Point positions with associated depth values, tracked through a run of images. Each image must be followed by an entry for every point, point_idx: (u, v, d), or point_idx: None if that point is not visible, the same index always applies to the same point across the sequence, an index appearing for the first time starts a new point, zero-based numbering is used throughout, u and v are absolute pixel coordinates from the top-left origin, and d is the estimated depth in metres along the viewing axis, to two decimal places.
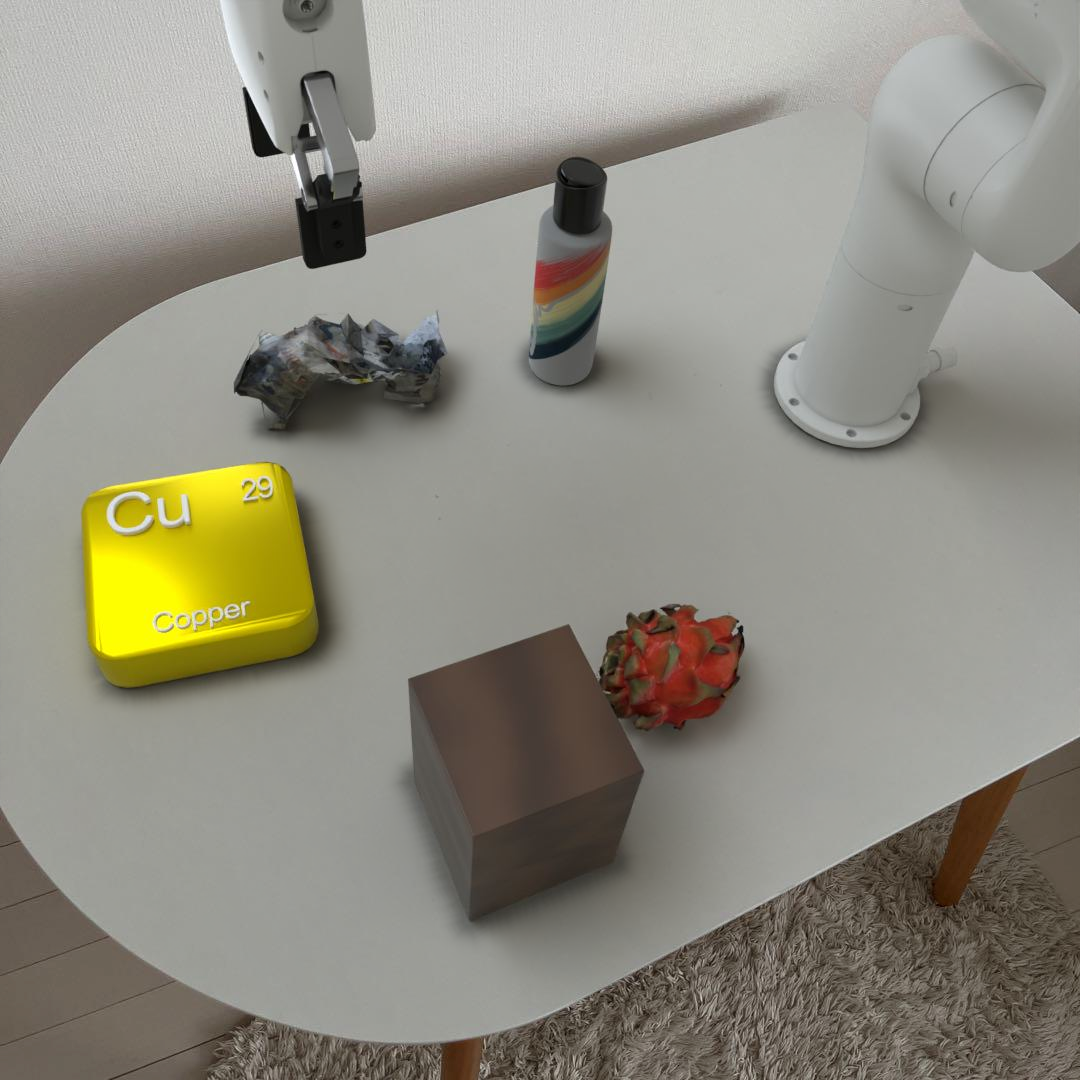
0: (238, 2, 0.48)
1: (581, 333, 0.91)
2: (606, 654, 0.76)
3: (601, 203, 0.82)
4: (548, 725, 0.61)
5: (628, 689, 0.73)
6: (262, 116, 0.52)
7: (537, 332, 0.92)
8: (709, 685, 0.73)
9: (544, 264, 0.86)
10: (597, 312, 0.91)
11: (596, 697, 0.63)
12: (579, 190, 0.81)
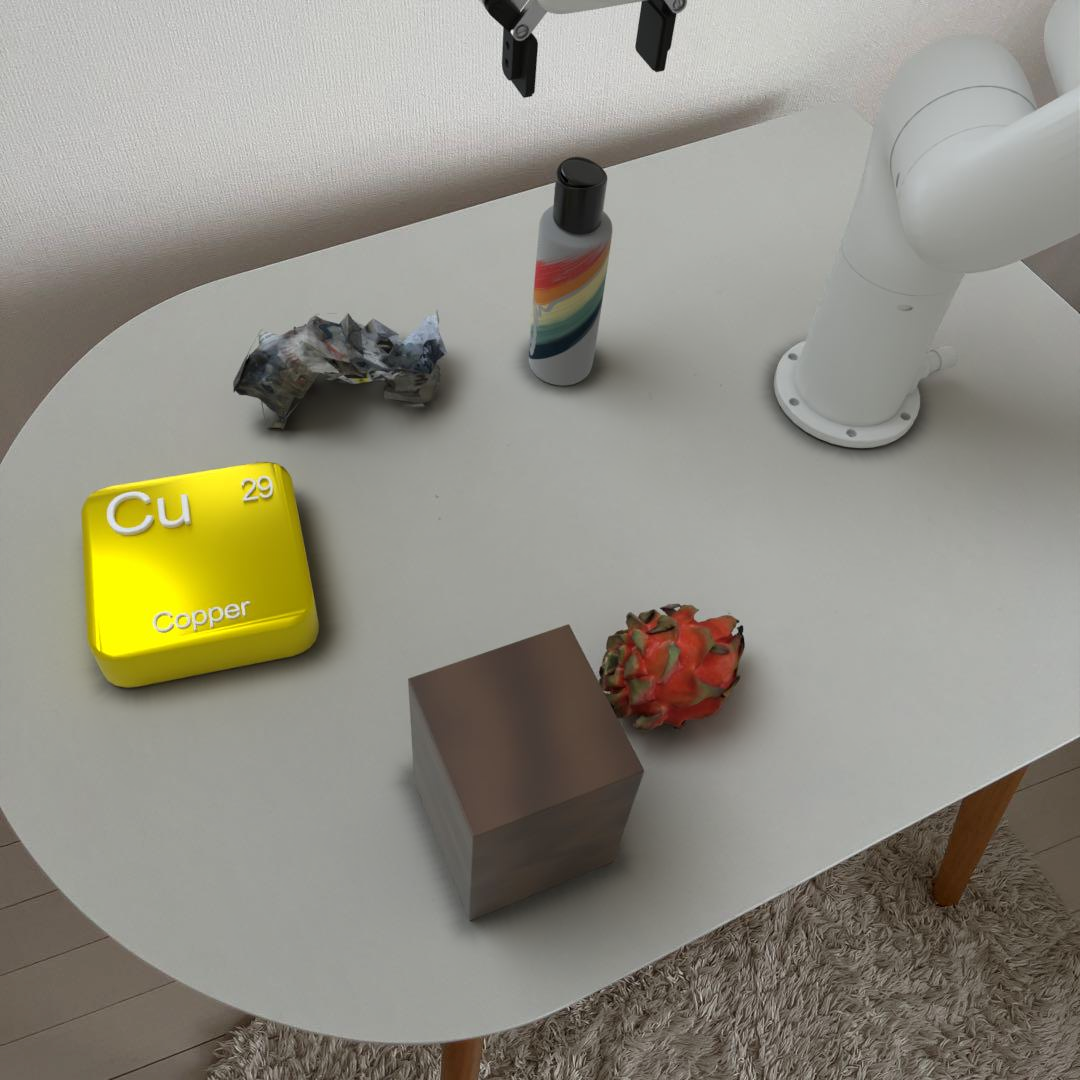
0: None
1: (581, 333, 0.91)
2: (606, 654, 0.76)
3: (601, 203, 0.82)
4: (548, 725, 0.61)
5: (628, 689, 0.73)
6: None
7: (537, 332, 0.92)
8: (709, 685, 0.73)
9: (544, 264, 0.86)
10: (597, 312, 0.91)
11: (596, 697, 0.63)
12: (579, 190, 0.81)
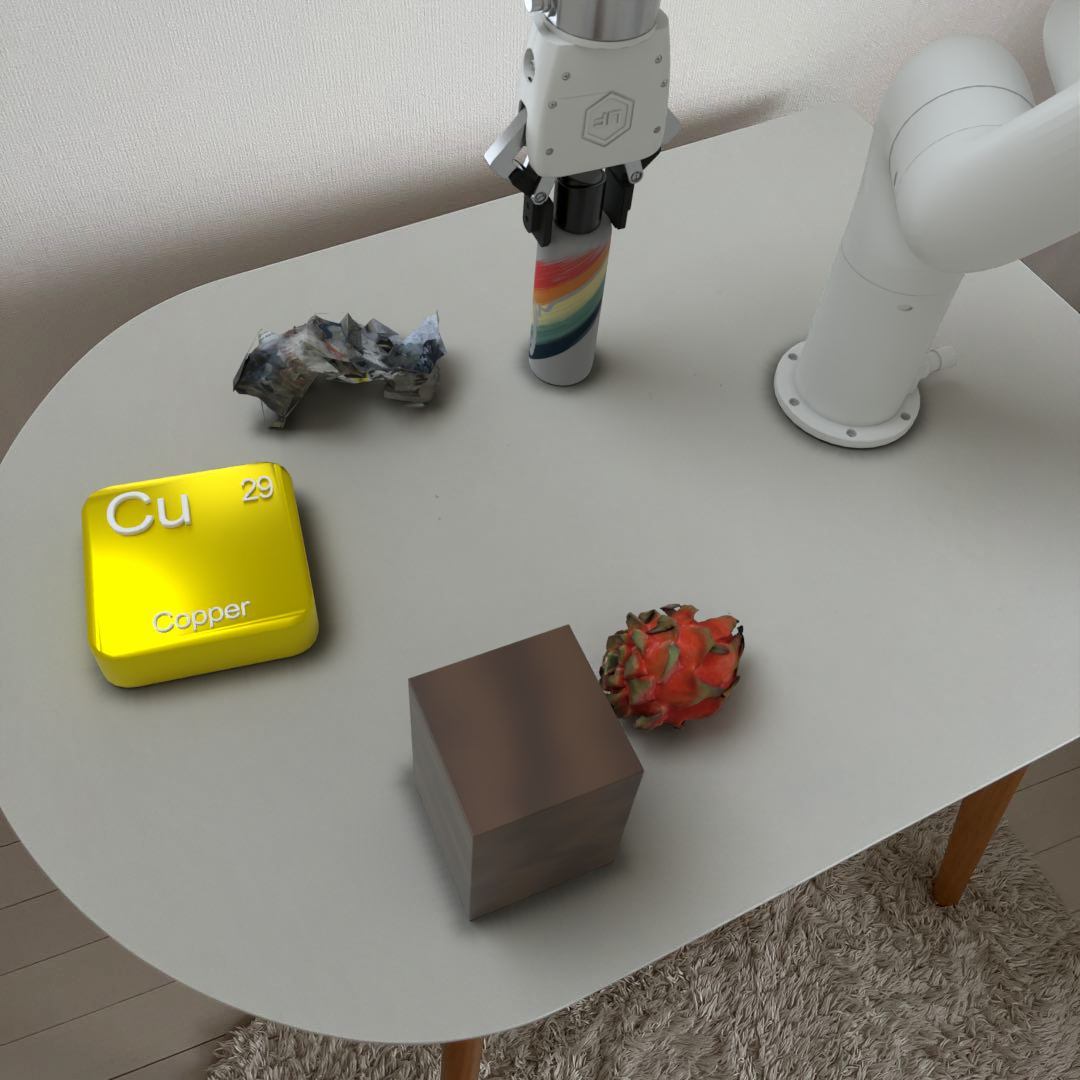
0: None
1: (581, 333, 0.91)
2: (606, 654, 0.76)
3: (601, 203, 0.82)
4: (548, 725, 0.61)
5: (628, 689, 0.73)
6: None
7: (537, 332, 0.92)
8: (709, 685, 0.73)
9: (544, 264, 0.86)
10: (597, 312, 0.91)
11: (596, 697, 0.63)
12: (579, 191, 0.81)
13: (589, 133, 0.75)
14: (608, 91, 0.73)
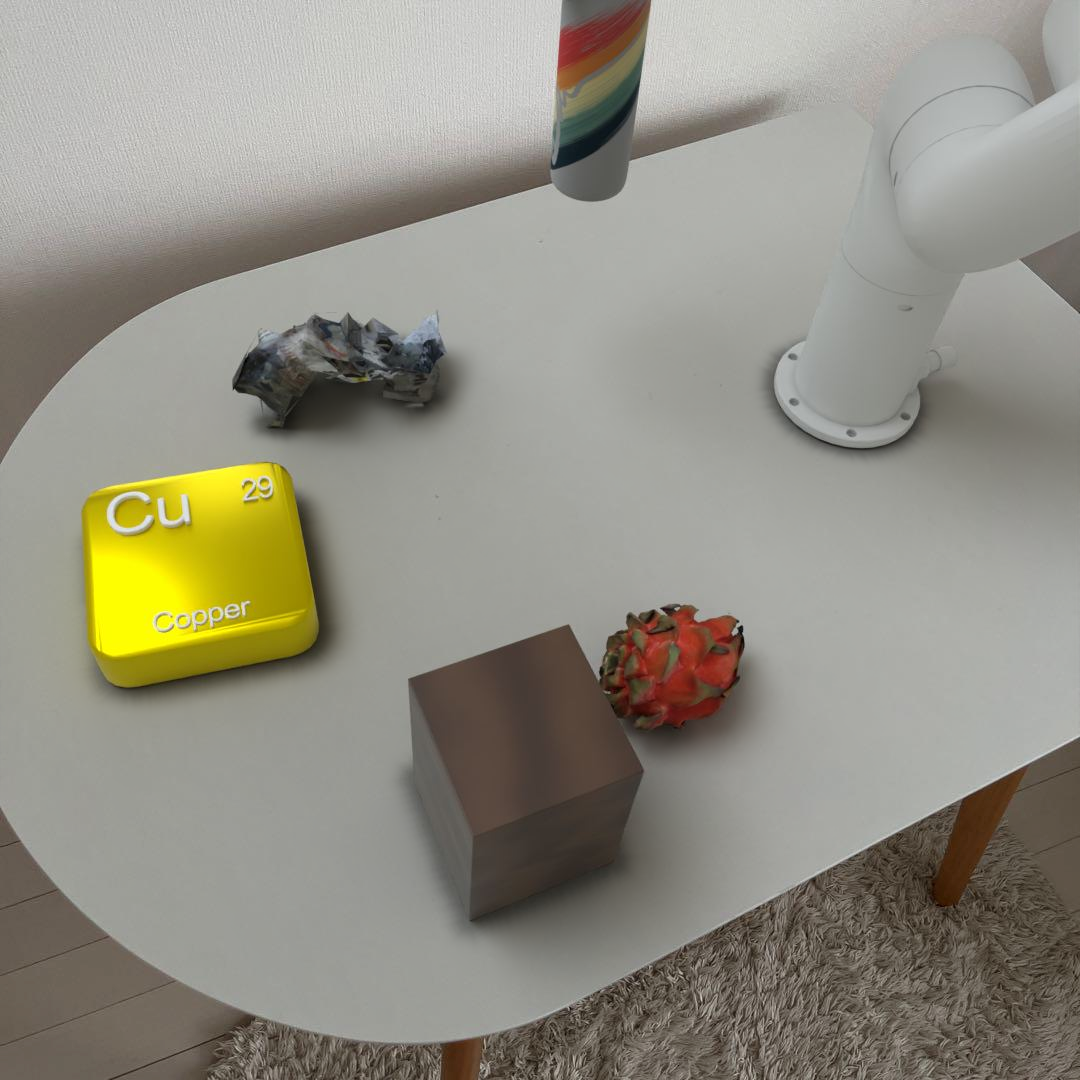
0: None
1: (614, 127, 0.76)
2: (606, 654, 0.76)
3: None
4: (548, 725, 0.61)
5: (628, 689, 0.73)
6: None
7: (561, 130, 0.77)
8: (709, 685, 0.73)
9: (570, 30, 0.71)
10: (633, 100, 0.75)
11: (596, 697, 0.63)
12: None
13: None
14: None
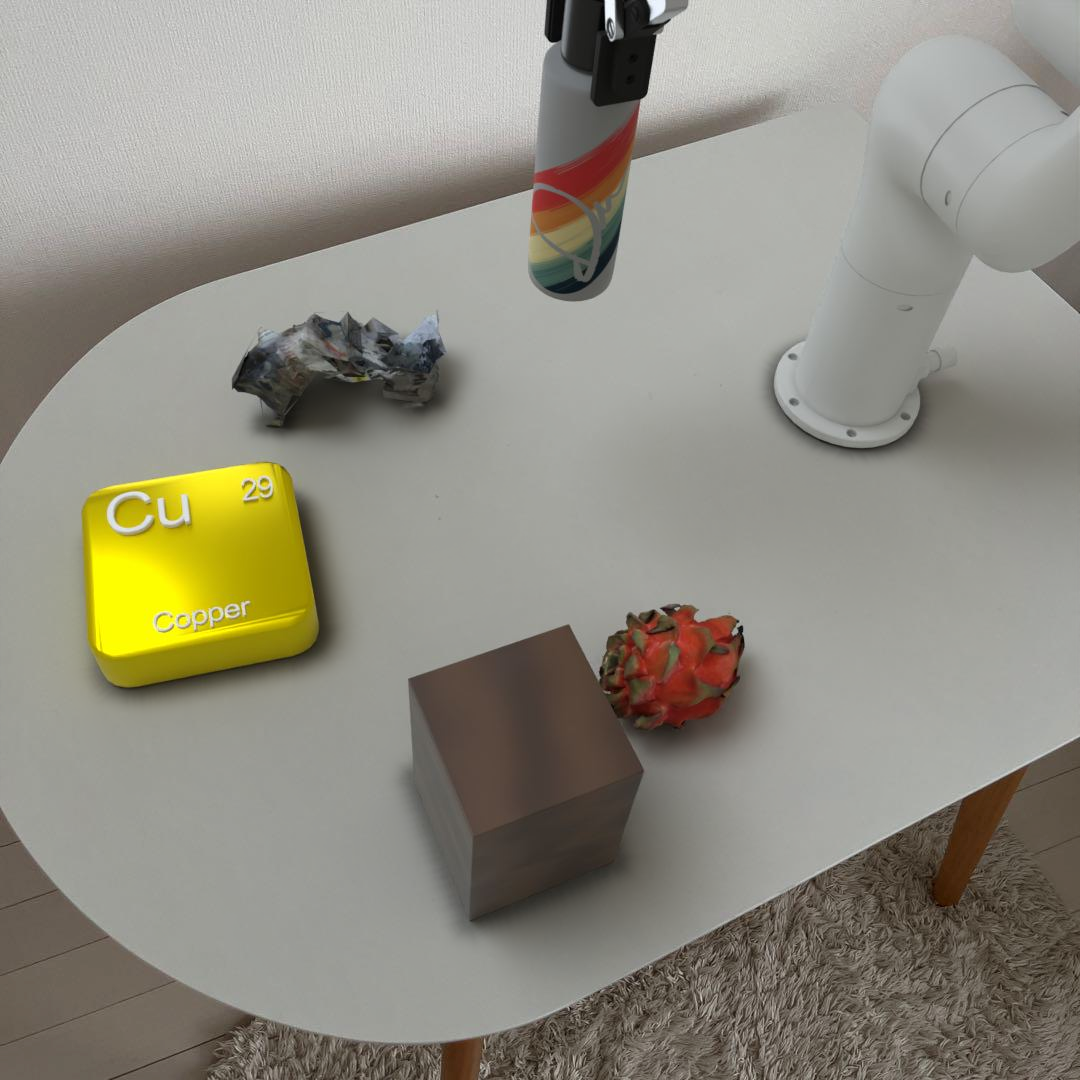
0: None
1: None
2: (606, 654, 0.76)
3: None
4: (548, 725, 0.61)
5: (628, 689, 0.73)
6: None
7: (603, 237, 0.68)
8: (709, 685, 0.73)
9: (619, 132, 0.62)
10: None
11: (596, 697, 0.63)
12: None
13: None
14: None
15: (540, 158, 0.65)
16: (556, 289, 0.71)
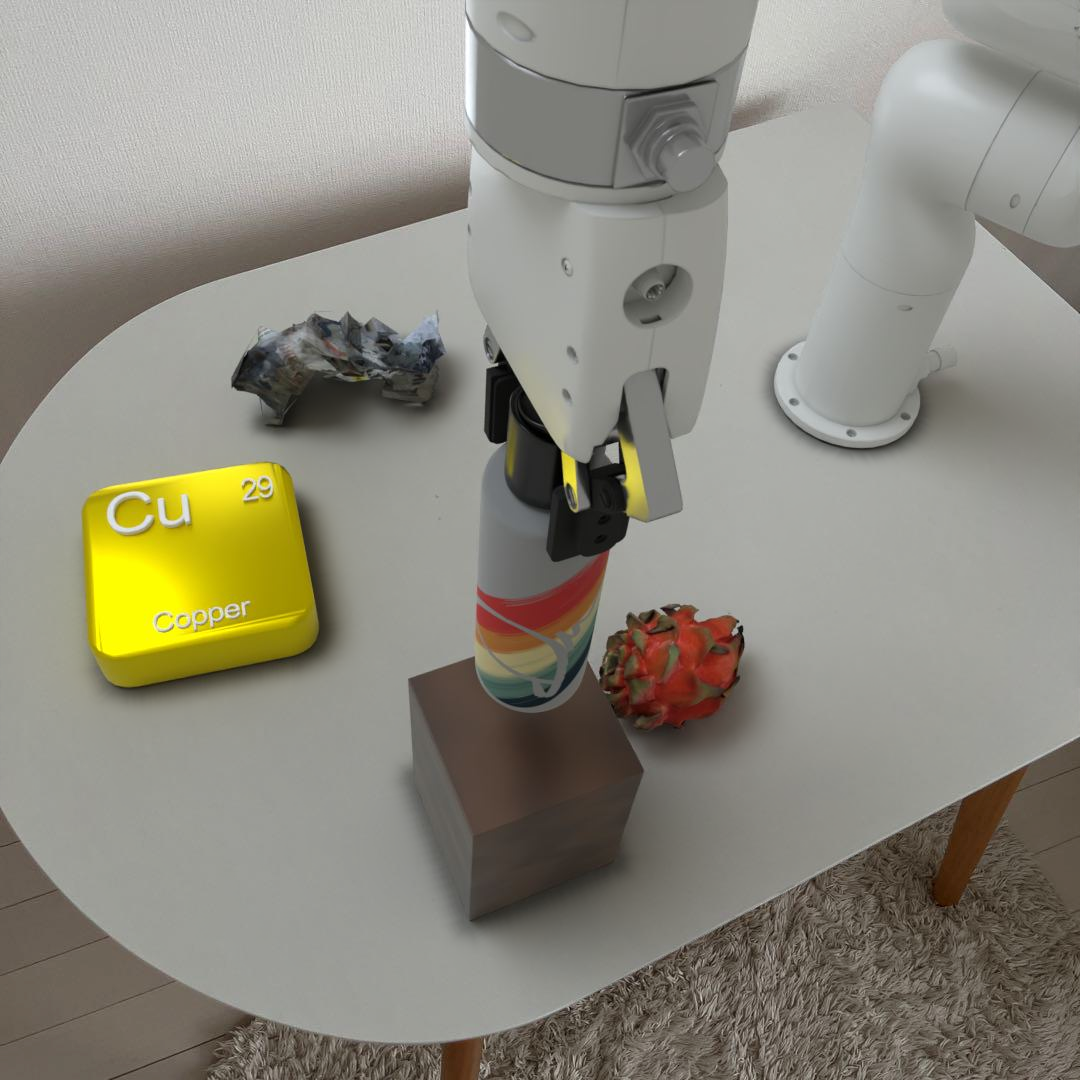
0: (542, 276, 0.32)
1: None
2: (606, 654, 0.76)
3: None
4: (548, 725, 0.61)
5: (628, 689, 0.73)
6: (539, 404, 0.37)
7: (570, 657, 0.52)
8: (709, 685, 0.73)
9: (587, 567, 0.46)
10: None
11: (596, 697, 0.63)
12: None
13: None
14: None
15: (483, 580, 0.48)
16: (511, 702, 0.55)
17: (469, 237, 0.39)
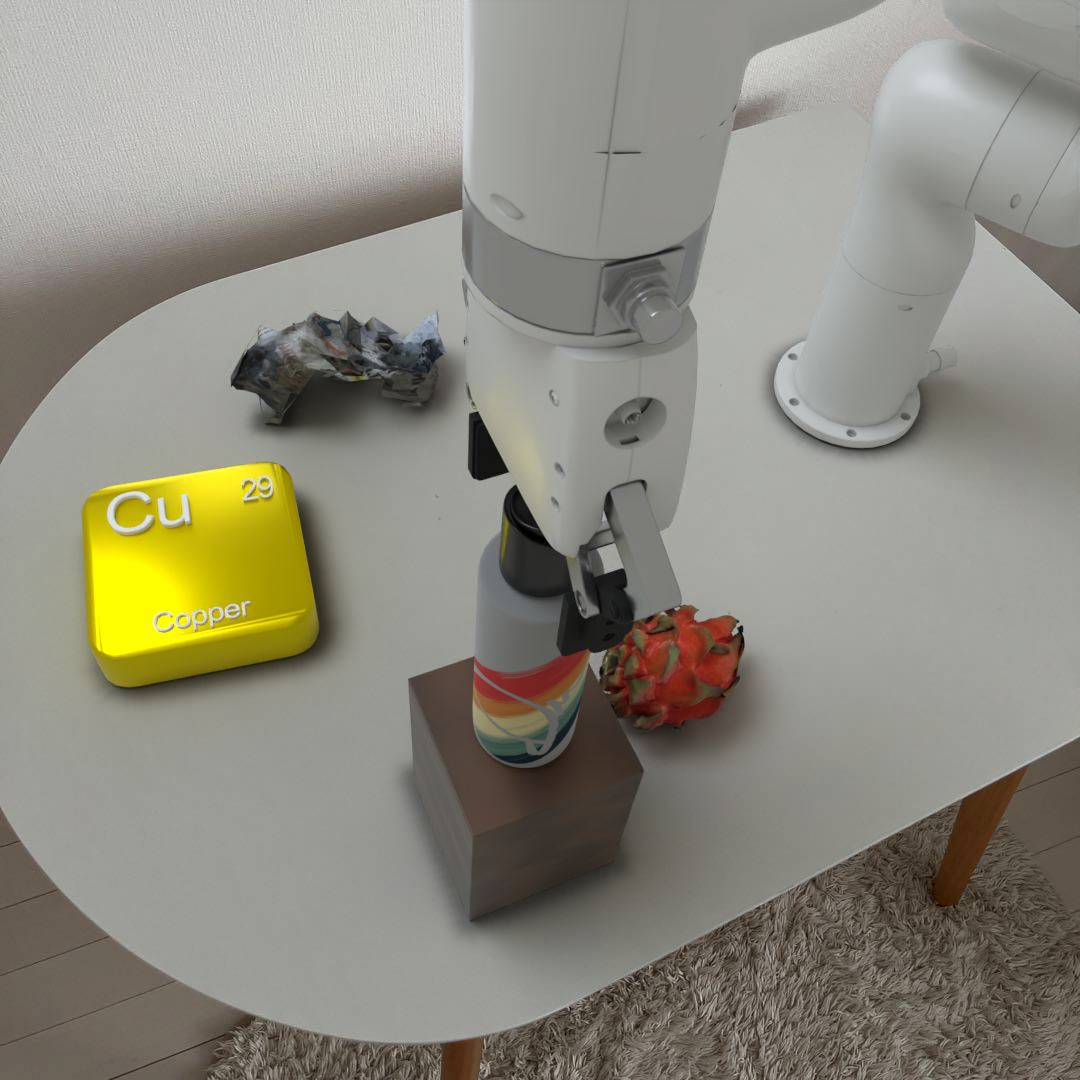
0: (532, 401, 0.36)
1: None
2: (606, 654, 0.76)
3: None
4: None
5: (628, 689, 0.73)
6: (531, 503, 0.41)
7: (560, 720, 0.56)
8: (709, 685, 0.73)
9: None
10: None
11: (596, 697, 0.63)
12: None
13: None
14: None
15: (480, 653, 0.53)
16: (506, 759, 0.59)
17: (467, 346, 0.42)
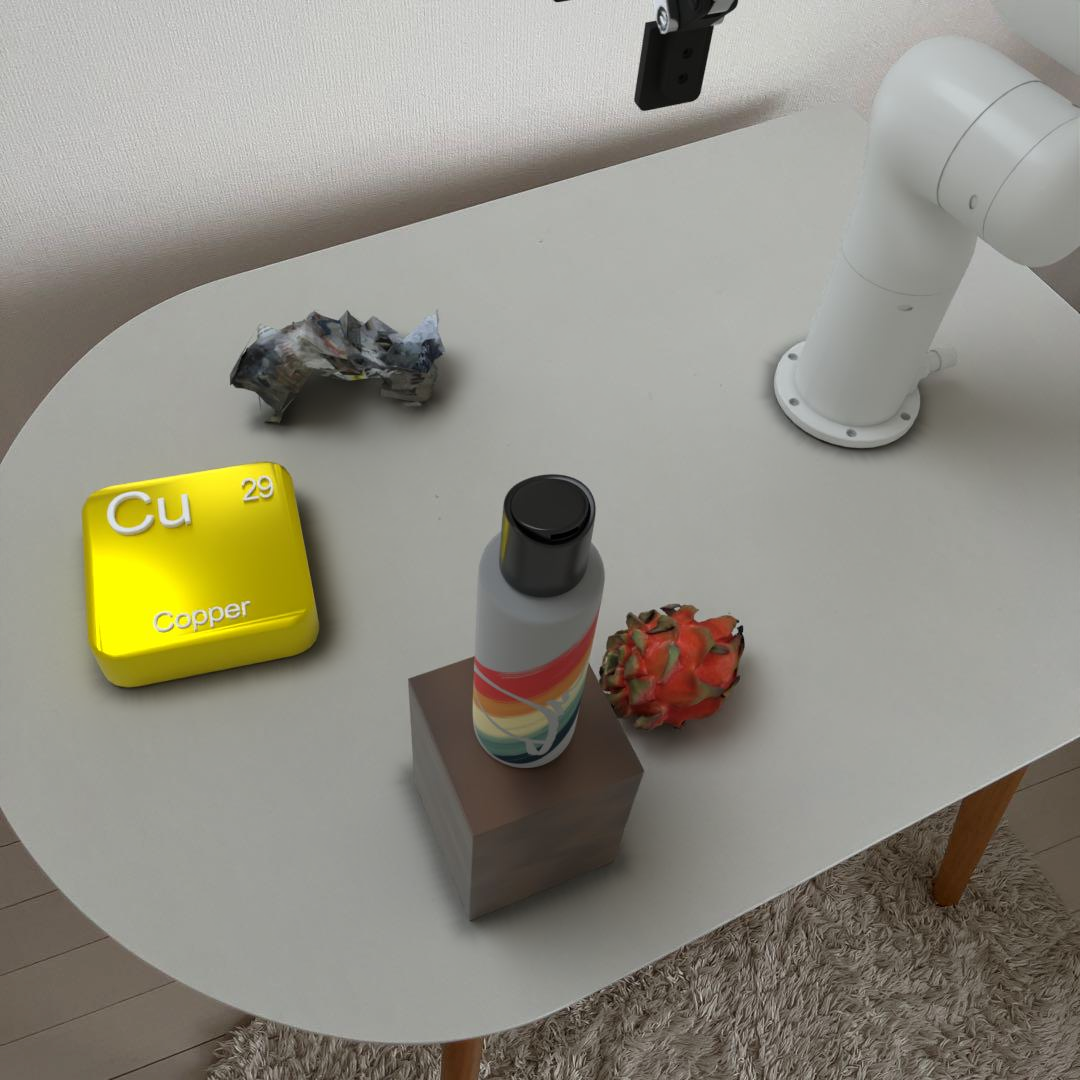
0: None
1: None
2: (606, 654, 0.76)
3: None
4: None
5: (628, 689, 0.73)
6: None
7: (560, 720, 0.56)
8: (709, 685, 0.73)
9: (575, 645, 0.50)
10: None
11: (596, 697, 0.63)
12: None
13: None
14: None
15: (480, 653, 0.53)
16: (506, 759, 0.59)
17: None
